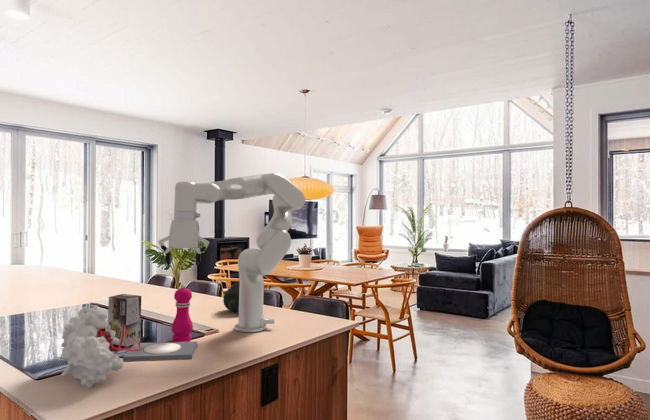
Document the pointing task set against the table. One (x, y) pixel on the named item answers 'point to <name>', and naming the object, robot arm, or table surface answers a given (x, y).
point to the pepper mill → (182, 316)
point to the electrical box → (125, 317)
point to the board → (161, 351)
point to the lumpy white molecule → (91, 347)
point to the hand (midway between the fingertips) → (183, 264)
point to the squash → (232, 298)
